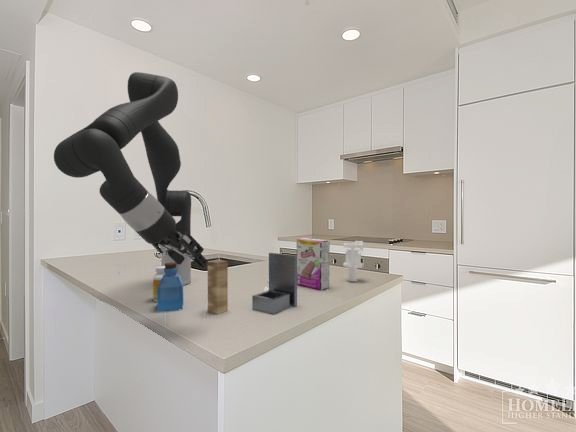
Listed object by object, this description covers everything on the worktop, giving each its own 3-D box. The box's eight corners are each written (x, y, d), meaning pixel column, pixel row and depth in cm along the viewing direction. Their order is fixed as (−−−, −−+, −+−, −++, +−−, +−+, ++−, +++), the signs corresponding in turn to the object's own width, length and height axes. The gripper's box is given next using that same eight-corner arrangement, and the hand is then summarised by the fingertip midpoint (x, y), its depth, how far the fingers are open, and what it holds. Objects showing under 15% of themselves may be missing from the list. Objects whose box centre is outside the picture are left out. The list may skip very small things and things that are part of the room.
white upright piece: (362, 283, 114) (362, 242, 113) (342, 282, 115) (342, 241, 115) (362, 279, 121) (362, 240, 120) (343, 278, 122) (344, 239, 122)
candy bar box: (295, 285, 112) (295, 238, 111) (304, 282, 115) (305, 237, 115) (321, 290, 104) (321, 240, 103) (330, 288, 107) (330, 239, 107)
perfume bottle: (157, 311, 83) (157, 265, 82) (160, 304, 89) (159, 262, 88) (182, 309, 84) (182, 264, 84) (183, 303, 90) (183, 261, 90)
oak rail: (207, 311, 83) (207, 261, 82) (218, 307, 86) (218, 259, 85) (217, 314, 81) (217, 263, 80) (227, 310, 84) (227, 261, 83)
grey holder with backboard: (249, 308, 85) (249, 256, 85) (271, 300, 93) (271, 252, 93) (276, 314, 80) (276, 259, 80) (297, 305, 88) (297, 255, 88)
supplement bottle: (165, 302, 90) (165, 268, 90) (149, 301, 92) (149, 268, 91) (176, 297, 96) (176, 265, 95) (160, 296, 97) (160, 264, 97)
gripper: (179, 204, 65) (221, 253, 75) (141, 204, 73) (183, 249, 83) (156, 231, 61) (203, 280, 70) (118, 228, 69) (165, 272, 79)
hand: (192, 263), depth 77 cm, fingers open, 8 cm apart
